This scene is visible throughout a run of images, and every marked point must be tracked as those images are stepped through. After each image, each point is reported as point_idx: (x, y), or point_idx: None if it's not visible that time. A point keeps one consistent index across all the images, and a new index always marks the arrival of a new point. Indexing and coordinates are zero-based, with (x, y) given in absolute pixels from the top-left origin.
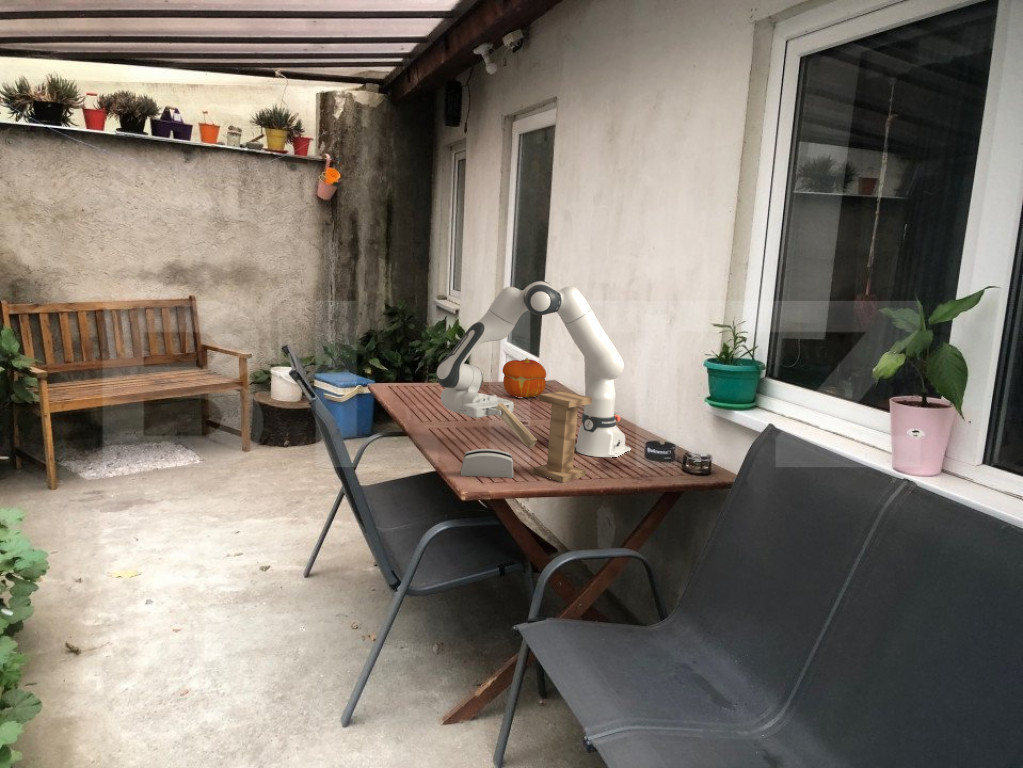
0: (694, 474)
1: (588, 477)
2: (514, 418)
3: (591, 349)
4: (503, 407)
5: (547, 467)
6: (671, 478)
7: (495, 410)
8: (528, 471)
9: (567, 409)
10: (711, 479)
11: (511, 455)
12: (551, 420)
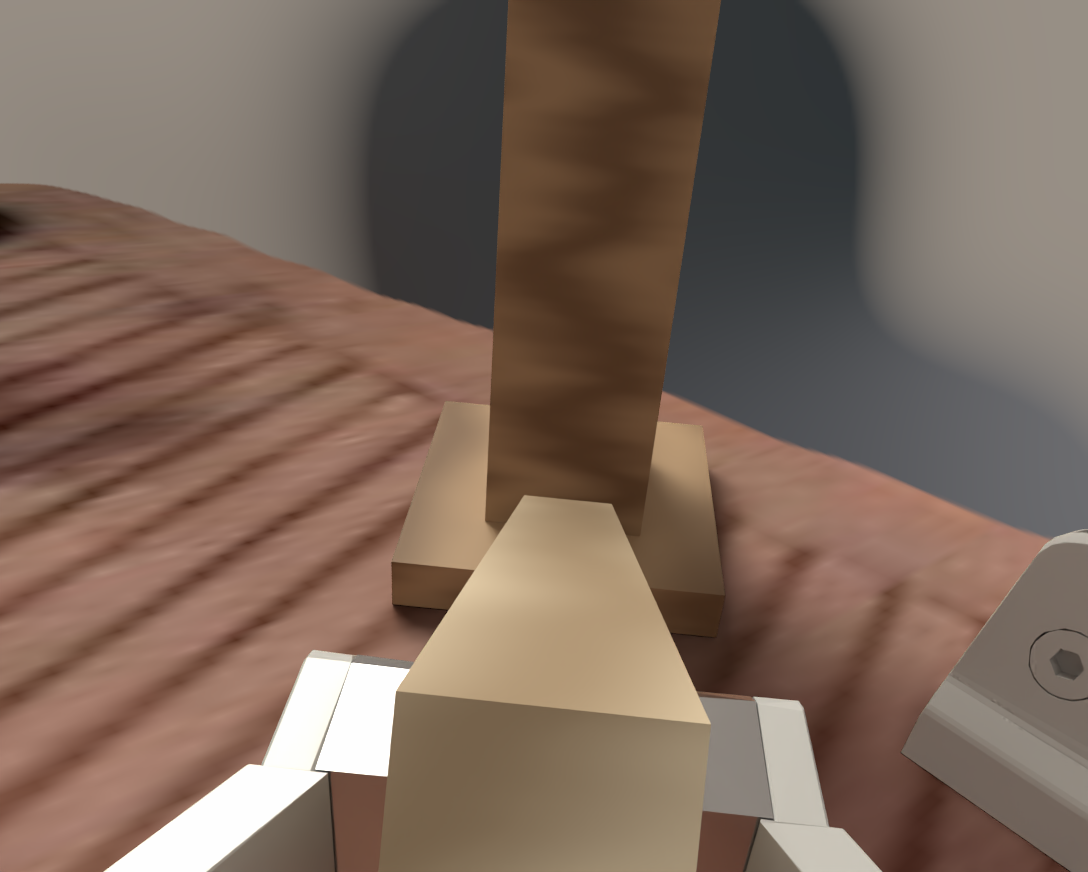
0: (4, 228)
1: None
2: (565, 559)
3: None
4: (600, 647)
5: (641, 525)
6: (151, 256)
7: (860, 863)
8: (704, 687)
9: None
10: (60, 199)
11: (1045, 547)
12: (704, 107)
